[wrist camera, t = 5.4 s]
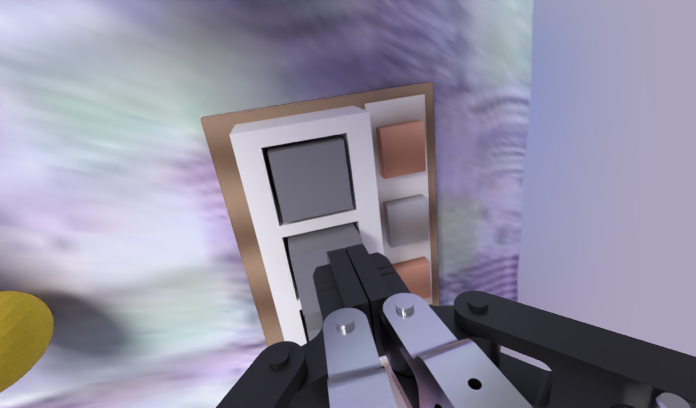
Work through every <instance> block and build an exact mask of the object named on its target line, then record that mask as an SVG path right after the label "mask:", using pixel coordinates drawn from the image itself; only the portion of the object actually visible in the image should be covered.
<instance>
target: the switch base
mask: <svg viewBox="0 0 696 408" xmlns="http://www.w3.org/2000/svg"><path fill="white" fill-rule="evenodd" d="M347 106H356V107H359V108H361V109H364V110H367V111H369V112H370V122H371V132H372V142H373V152H374V162H375V172H376V182H377V191H378V201H379V211H380V221H381V231H382V241H383V251H384V256H386V257H387V258H388V259H389V261H390V262H391V264H392V266H393V267H394V268H395V270H396V272H397V273H398V274H399V276H400V277H401V279H402V280H403V282H404V283H405V285H406V286H407V288H408V289H409V291H410V292H411V294H415V295H418V296H420V297H421V298H422V299H423V300H424V301H425V302H426V303H427V304H428V305H433V306H439V280H438V244H437V208H436V173H435V137H434V101H433V82H423V83H417V84H410V85H404V86H398V87H391V88H385V89H378V90H372V91H366V92H359V93H353V94H346V95H340V96H334V97H327V98H321V99H314V100H308V101H302V102H295V103H289V104H282V105H276V106H270V107H263V108H257V109H251V110H244V111H238V112H231V113H225V114H219V115H212V116H206V117H202V118H201V123H202V126H203V129H204V133H205V136H206V140H207V143H208V146H209V150H210V153H211V156H212V160H213V163H214V167H215V170H216V173H217V177H218V180H219V183H220V187H221V190H222V194H223V197H224V200H225V204H226V207H227V211H228V214H229V217H230V221H231V224H232V227H233V231H234V234H235V238H236V241H237V244H238V248H239V251H240V254H241V258H242V261H243V265H244V268H245V271H246V275H247V278H248V281H249V285H250V288H251V292H252V295H253V298H254V302H255V305H256V309H257V312H258V315H259V319H260V322H261V325H262V329H263V332H264V336H265V339H266V342H267V346H268V347H269V346H270V345H272V344H275V343H277V342H281V341H284V337H283V334H282V330H281V326H280V322H279V319H278V315H277V311H276V307H275V304H274V300H273V296H272V293H271V289H270V285H269V281H268V278H267V274H266V270H265V266H264V263H263V259H262V255H261V251H260V248H259V244H258V240H257V236H256V233H255V229H254V225H253V222H252V218H251V214H250V210H249V207H248V203H247V199H246V195H245V192H244V188H243V184H242V180H241V177H240V173H239V169H238V165H237V162H236V158H235V154H234V151H233V147H232V143H231V139H230V136H229V134H230V133H231V131H232V129H233V128H234V126H235V125H236V124H242V123H248V122H255V121H261V120H267V119H273V118H279V117H285V116H292V115H298V114H304V113H310V112H316V111H322V110H328V109H335V108H341V107H347ZM264 148H265V152H266V156H267V161H268V165H269V169H270V174H271V178H272V182H273V187H274V191H275V195H276V200H277V204H278V203H279V201H278V196H277V192H276V187H275V183H274V179H273V174H272V170H271V165H270V161H269V157H268V147H264ZM285 239H286V243H287V248H288V252H289V246H288V238H287V237H285ZM289 256H290V253H289ZM290 261H291V259H290ZM291 265H292V263H291ZM292 269H293V267H292ZM302 313H303V311H302ZM303 317H304V322H305V326H306V321H305V315H303Z"/></svg>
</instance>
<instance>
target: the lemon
mask: <svg viewBox="0 0 696 408" xmlns="http://www.w3.org/2000/svg"><path fill="white" fill-rule="evenodd" d="M53 330H54V319H53V316H52V313H51V311H50V309H49V308H48V306H47V305H46V304H45V303H44V302H43V301H42V300H40V299H39V298H37V297H35V296H33V295H31V294H28V293H24V292H18V291H0V393H1V392H2V391H4V390H5V389H7V388H8V387H10V386H11V385H13V384H14V383H15V382H17V381H18V380H19V379H20V378H22V377H23V376H24V375H25V374H26V373H27V372H28V371H29V370H30V369H31V368H32V367H33V366H34V365H35V363H36V362H37V361H38V360H39V359H40V358H41V356H42V355H43V354H44V352H45V350H46V349H47V347H48V345H49V342H50V340H51V337H52V335H53Z"/></svg>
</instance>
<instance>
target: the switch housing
mask: <svg viewBox="0 0 696 408" xmlns="http://www.w3.org/2000/svg"><path fill="white" fill-rule="evenodd" d="M332 135H339V136H340V137H341V138H342V139H343V140H344V146H345V154H346V161H347V168H348V176H349V183H350V191H351V198H352V205H353V208H352V209H347V210H343V211H338V212H333V213H329V214H324V215H319V216H315V217H310V218H305V219H301V220H296V221H291V222H286V223H283V218H282V214H281V209H280V205H279V203H278V204H277V200H276V195H275V191H274V187H273V182H272V178H271V174H270V169H269V165H268V161H267V156H266V152H265V148H264V147H269V146H275V145H281V144H286V143H292V142H298V141H303V140H309V139H315V138H320V137H326V136H332ZM229 136H230V139H231V143H232V147H233V151H234V154H235V158H236V162H237V165H238V169H239V173H240V177H241V180H242V184H243V188H244V192H245V195H246V199H247V203H248V207H249V210H250V214H251V218H252V222H253V225H254V229H255V233H256V236H257V240H258V244H259V248H260V251H261V255H262V259H263V263H264V266H265V270H266V274H267V278H268V281H269V285H270V289H271V293H272V296H273V300H274V304H275V307H276V311H277V315H278V319H279V322H280V326H281V330H282V334H283V337H284V341H292V342H295V343H297V344H299V345H300V346H302V345H304V344H306V343H308V342H309V337H308V333H307V327H306V326H305V322H304V317H303V313H302V307H301V302H300V298H299V294H298V289H297V285H296V281H295V276H294V272H293V269H292V265H291V261H290V256H289V252H288V248H287V243H286V239H285V237H287V236H292V235H297V234H301V233H306V232H310V231H315V230H319V229H324V228H328V227H333V226H337V225H342V224H347V223H351V222H352V223H353V224H354V226H355V228H356V230H357V231H358V233H359V235H360V236H361V238H362V240H363V245H364V246H365V248H366V250H367V251H368V253H369V254H372V253H376V252H379V253H381V254H382V255H384V251H383V241H382V231H381V221H380V211H379V201H378V191H377V182H376V172H375V162H374V152H373V142H372V132H371V122H370V112H369V111H367V110H364V109H361V108H359V107H356V106H347V107H341V108H335V109H328V110H322V111H316V112H310V113H304V114H298V115H292V116H285V117H279V118H273V119H267V120H261V121H255V122H248V123H242V124H236V125H235V126H234V128H233V129H232V131H231V133H230V134H229Z"/></svg>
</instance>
